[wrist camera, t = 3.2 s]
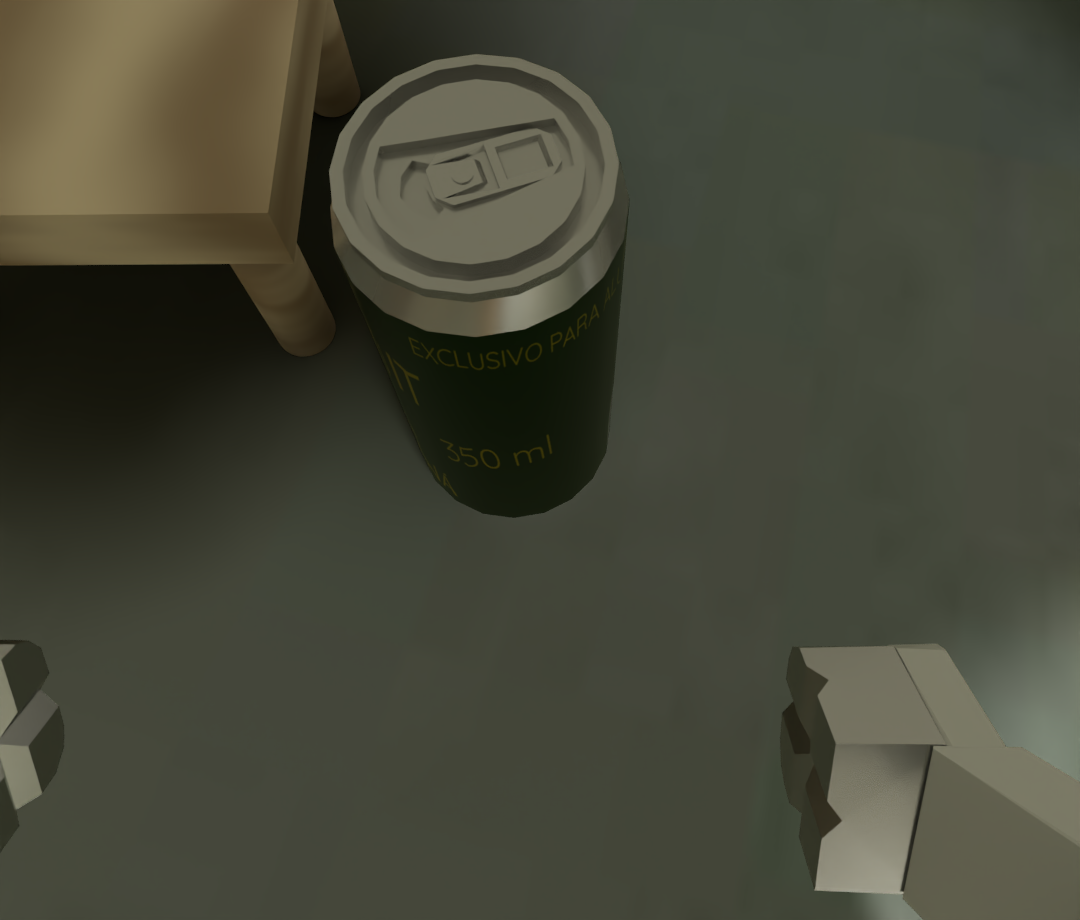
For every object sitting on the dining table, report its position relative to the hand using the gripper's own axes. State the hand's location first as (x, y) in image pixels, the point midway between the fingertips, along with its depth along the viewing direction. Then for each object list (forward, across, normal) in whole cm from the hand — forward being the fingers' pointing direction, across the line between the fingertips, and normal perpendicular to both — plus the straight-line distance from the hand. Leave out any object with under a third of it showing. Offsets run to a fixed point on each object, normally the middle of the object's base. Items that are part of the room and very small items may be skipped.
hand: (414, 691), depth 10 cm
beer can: (+17, 0, +4) cm, 17 cm away
